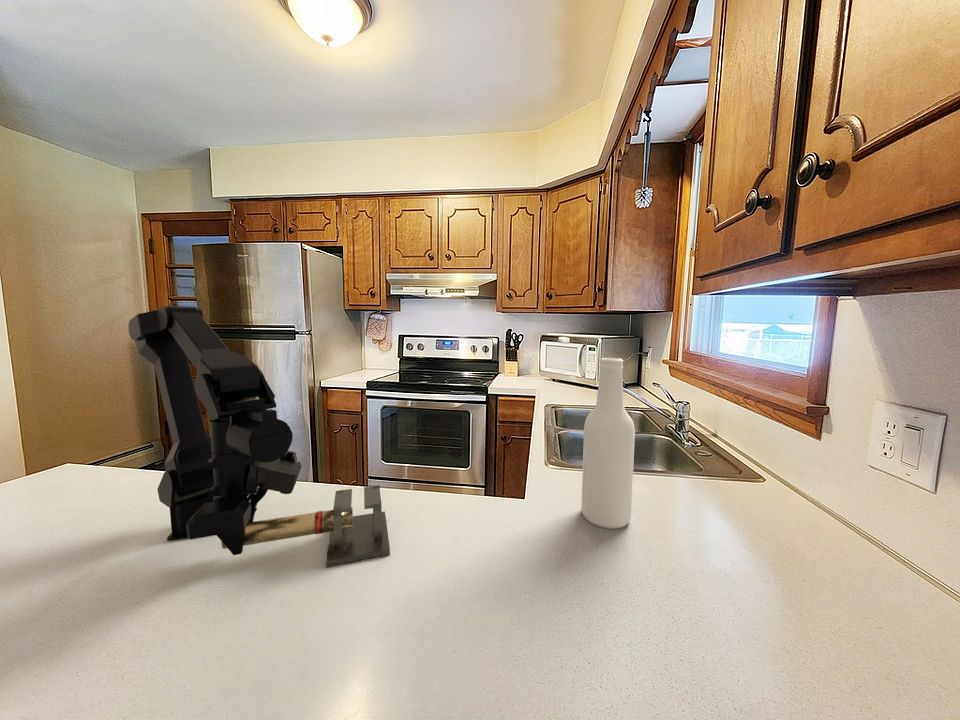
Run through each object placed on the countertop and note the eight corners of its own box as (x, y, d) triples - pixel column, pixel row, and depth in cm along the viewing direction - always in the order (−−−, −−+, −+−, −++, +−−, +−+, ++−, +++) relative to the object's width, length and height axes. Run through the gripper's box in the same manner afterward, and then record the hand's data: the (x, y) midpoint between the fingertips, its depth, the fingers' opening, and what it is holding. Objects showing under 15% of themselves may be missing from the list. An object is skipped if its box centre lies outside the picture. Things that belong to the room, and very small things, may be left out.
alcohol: (624, 536, 61) (632, 362, 58) (574, 520, 66) (579, 359, 63) (635, 514, 68) (642, 358, 65) (589, 501, 73) (594, 355, 70)
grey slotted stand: (326, 567, 53) (324, 520, 52) (332, 524, 64) (330, 485, 63) (389, 555, 56) (389, 510, 55) (385, 516, 67) (384, 478, 66)
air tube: (222, 554, 52) (220, 532, 52) (230, 541, 55) (228, 520, 55) (352, 532, 58) (351, 512, 57) (352, 521, 61) (352, 502, 61)
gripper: (282, 464, 47) (288, 576, 48) (305, 426, 64) (308, 509, 66) (179, 475, 43) (189, 595, 45) (233, 431, 61) (238, 518, 62)
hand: (241, 547), depth 54 cm, fingers closed on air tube, 3 cm apart
